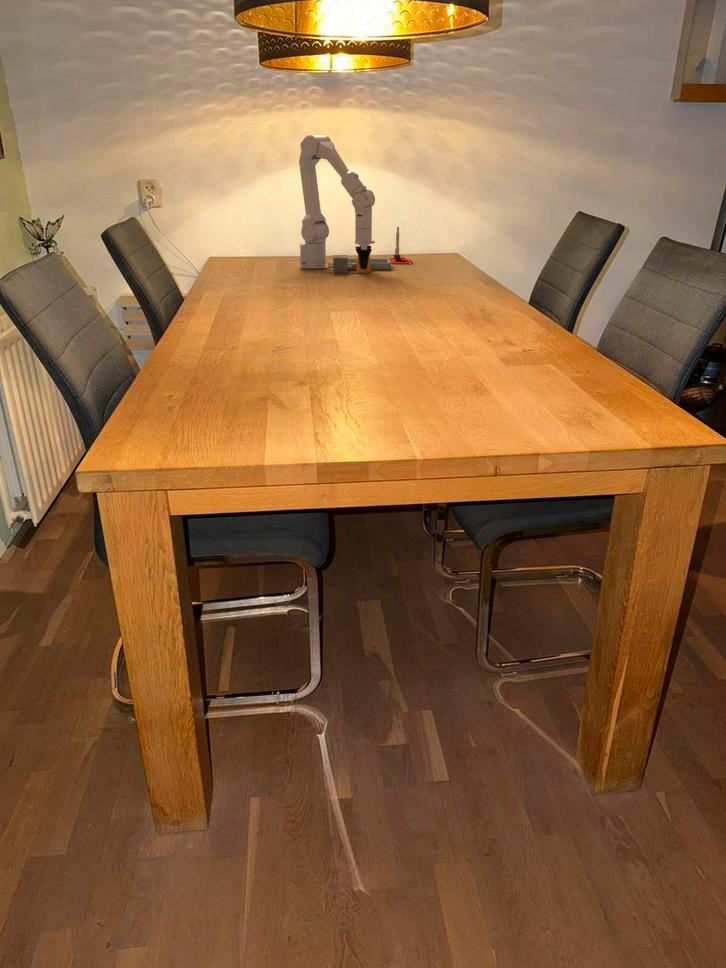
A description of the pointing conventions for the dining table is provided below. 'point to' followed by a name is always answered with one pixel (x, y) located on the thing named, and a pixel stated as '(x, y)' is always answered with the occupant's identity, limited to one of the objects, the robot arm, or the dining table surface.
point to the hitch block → (340, 264)
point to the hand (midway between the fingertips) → (363, 268)
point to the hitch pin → (356, 266)
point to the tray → (376, 263)
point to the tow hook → (396, 255)
